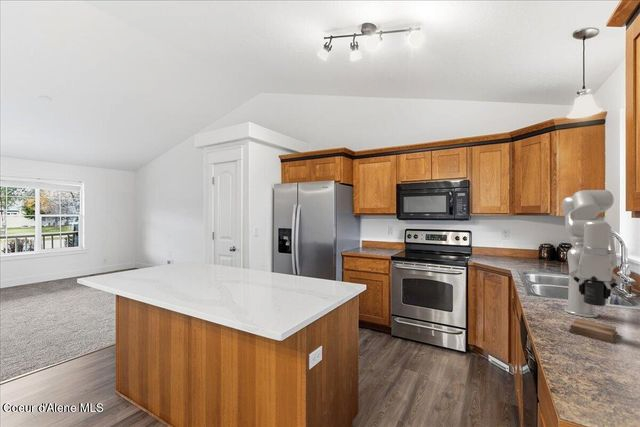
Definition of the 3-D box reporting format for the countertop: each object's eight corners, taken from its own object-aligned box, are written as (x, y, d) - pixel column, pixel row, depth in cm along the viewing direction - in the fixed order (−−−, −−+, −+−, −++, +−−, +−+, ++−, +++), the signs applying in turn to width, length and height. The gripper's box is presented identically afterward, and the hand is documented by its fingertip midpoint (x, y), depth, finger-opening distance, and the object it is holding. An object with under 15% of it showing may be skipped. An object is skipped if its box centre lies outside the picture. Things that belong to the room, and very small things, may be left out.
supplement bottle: (610, 307, 117) (611, 276, 117) (590, 305, 118) (591, 275, 118) (597, 301, 124) (598, 272, 123) (578, 300, 125) (579, 271, 125)
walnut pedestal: (575, 324, 131) (575, 317, 130) (617, 334, 121) (617, 327, 121) (568, 332, 122) (569, 324, 122) (613, 343, 112) (613, 335, 112)
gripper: (627, 254, 116) (625, 299, 117) (570, 248, 130) (568, 289, 130) (625, 255, 112) (623, 303, 112) (566, 250, 125) (564, 292, 125)
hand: (594, 295), depth 121 cm, fingers closed on supplement bottle, 6 cm apart
